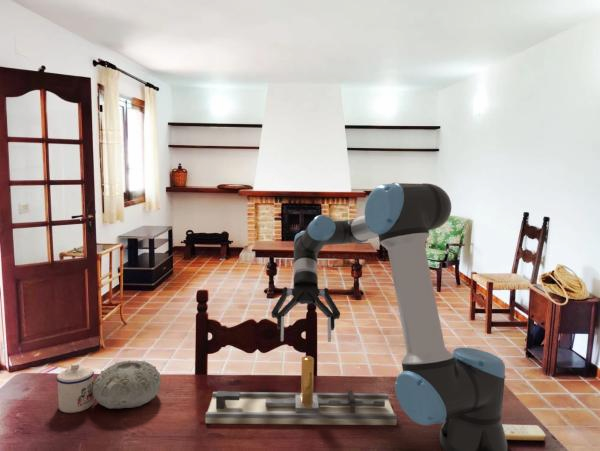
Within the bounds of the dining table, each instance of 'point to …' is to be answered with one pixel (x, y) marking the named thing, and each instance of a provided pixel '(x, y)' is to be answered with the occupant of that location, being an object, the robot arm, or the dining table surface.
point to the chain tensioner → (310, 401)
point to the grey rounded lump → (127, 384)
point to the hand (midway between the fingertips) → (305, 339)
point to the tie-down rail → (254, 411)
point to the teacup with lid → (75, 388)
